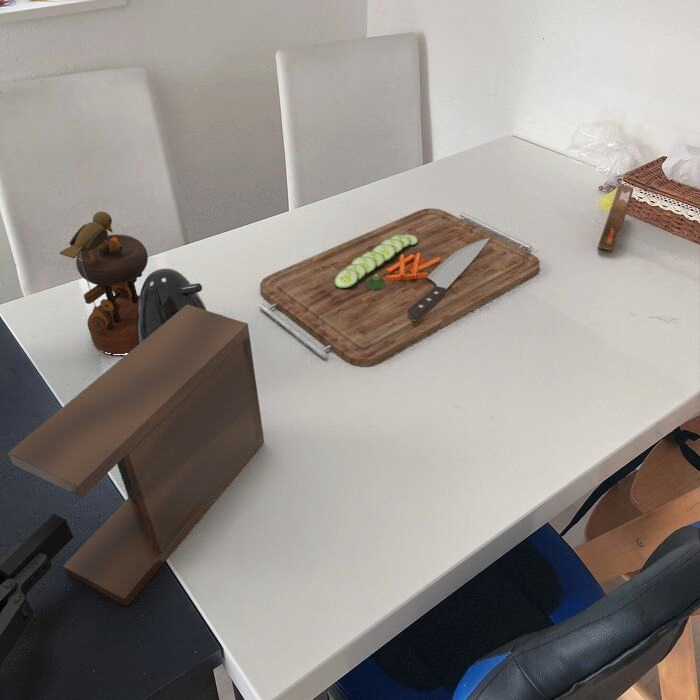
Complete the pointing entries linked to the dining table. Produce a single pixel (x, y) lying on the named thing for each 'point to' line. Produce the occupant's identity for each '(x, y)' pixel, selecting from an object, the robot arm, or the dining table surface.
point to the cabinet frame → (154, 443)
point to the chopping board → (396, 284)
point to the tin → (616, 217)
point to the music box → (109, 282)
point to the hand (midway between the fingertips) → (63, 525)
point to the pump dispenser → (164, 300)
